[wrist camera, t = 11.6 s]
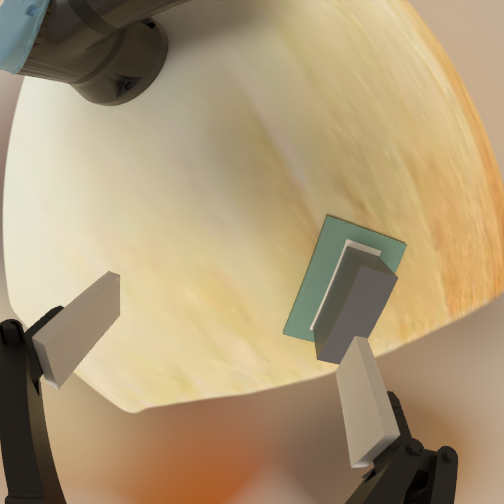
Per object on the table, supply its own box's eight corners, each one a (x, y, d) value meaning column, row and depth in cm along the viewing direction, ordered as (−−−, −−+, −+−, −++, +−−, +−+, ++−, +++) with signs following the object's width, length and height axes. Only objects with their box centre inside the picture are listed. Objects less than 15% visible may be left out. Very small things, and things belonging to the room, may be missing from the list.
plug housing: (346, 245, 35) (361, 265, 28) (378, 256, 35) (398, 277, 28) (312, 327, 39) (317, 359, 32) (342, 335, 39) (351, 366, 32)
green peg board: (326, 214, 35) (334, 224, 29) (404, 243, 35) (422, 256, 29) (282, 331, 41) (282, 355, 35) (354, 348, 40) (361, 372, 35)
